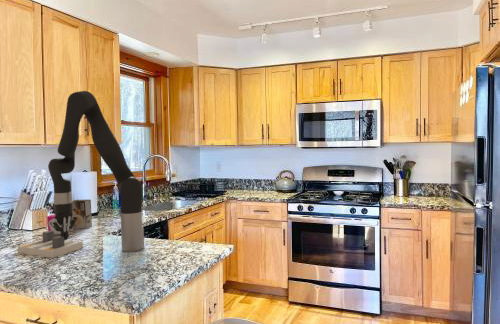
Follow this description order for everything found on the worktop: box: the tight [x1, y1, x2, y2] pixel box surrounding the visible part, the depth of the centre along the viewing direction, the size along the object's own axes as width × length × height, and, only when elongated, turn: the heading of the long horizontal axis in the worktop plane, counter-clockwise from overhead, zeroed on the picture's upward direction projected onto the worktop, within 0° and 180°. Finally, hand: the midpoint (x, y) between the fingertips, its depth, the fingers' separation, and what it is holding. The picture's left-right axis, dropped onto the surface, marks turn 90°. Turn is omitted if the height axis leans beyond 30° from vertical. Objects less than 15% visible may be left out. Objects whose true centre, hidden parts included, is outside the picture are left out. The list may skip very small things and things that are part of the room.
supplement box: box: [46, 214, 59, 233], centre depth 192 cm, size 6×6×12 cm
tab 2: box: [53, 232, 66, 241], centre depth 171 cm, size 4×3×5 cm
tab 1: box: [42, 230, 54, 243], centre depth 174 cm, size 4×3×5 cm
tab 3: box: [52, 236, 65, 249], centre depth 163 cm, size 4×3×5 cm
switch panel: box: [17, 238, 84, 259], centre depth 167 cm, size 16×22×3 cm
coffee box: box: [72, 199, 93, 229], centre depth 213 cm, size 9×6×16 cm
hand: (64, 239), depth 166 cm, fingers closed
